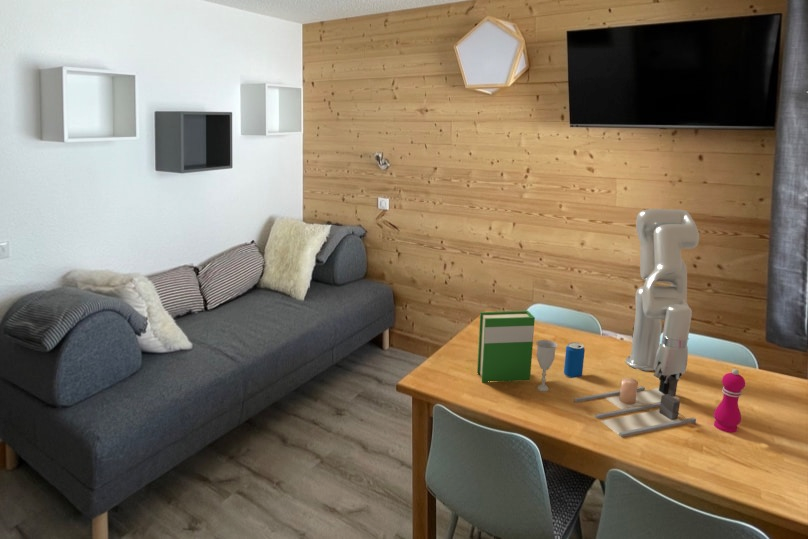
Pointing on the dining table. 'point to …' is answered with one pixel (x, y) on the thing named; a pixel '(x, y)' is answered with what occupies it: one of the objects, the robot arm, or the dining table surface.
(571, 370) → the beverage can
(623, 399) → the light brown rounded piece
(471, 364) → the dining table surface
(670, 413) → the strip
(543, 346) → the chalice
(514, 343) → the hardback book
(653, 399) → the strip
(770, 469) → the dining table surface
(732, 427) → the pepper mill
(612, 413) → the track board
